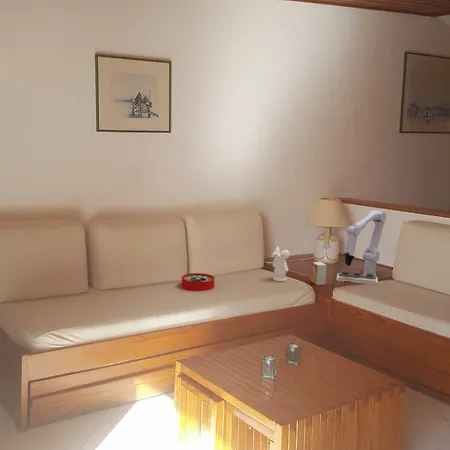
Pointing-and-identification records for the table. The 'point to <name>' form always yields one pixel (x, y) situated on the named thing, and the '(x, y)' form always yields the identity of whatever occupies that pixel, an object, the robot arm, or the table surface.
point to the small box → (318, 273)
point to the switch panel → (357, 278)
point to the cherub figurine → (280, 264)
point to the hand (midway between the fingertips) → (347, 264)
